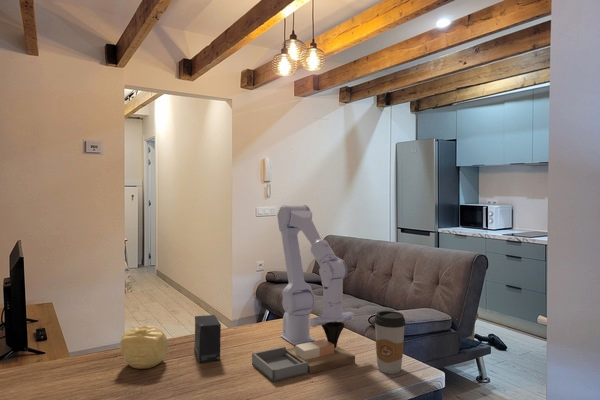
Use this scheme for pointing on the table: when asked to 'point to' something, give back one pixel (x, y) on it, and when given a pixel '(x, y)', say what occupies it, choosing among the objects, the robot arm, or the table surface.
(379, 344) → the coffee cup
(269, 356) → the tray
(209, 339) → the small box
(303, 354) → the cream tile
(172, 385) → the table surface
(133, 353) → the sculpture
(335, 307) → the robot arm
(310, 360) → the board
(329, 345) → the terracotta tile
